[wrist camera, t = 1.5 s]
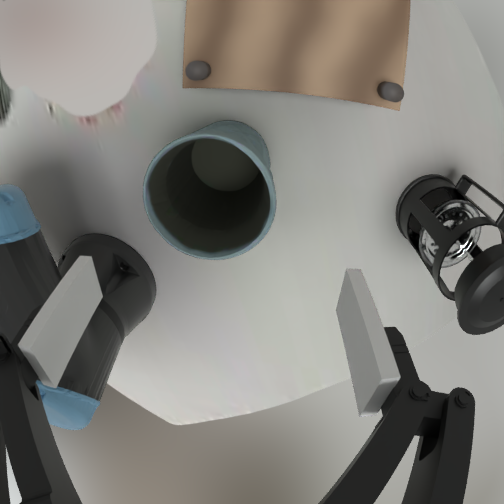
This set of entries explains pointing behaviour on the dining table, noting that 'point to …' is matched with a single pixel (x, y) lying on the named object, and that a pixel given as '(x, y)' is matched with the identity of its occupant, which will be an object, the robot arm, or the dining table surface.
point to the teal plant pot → (212, 191)
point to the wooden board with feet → (299, 47)
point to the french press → (458, 248)
